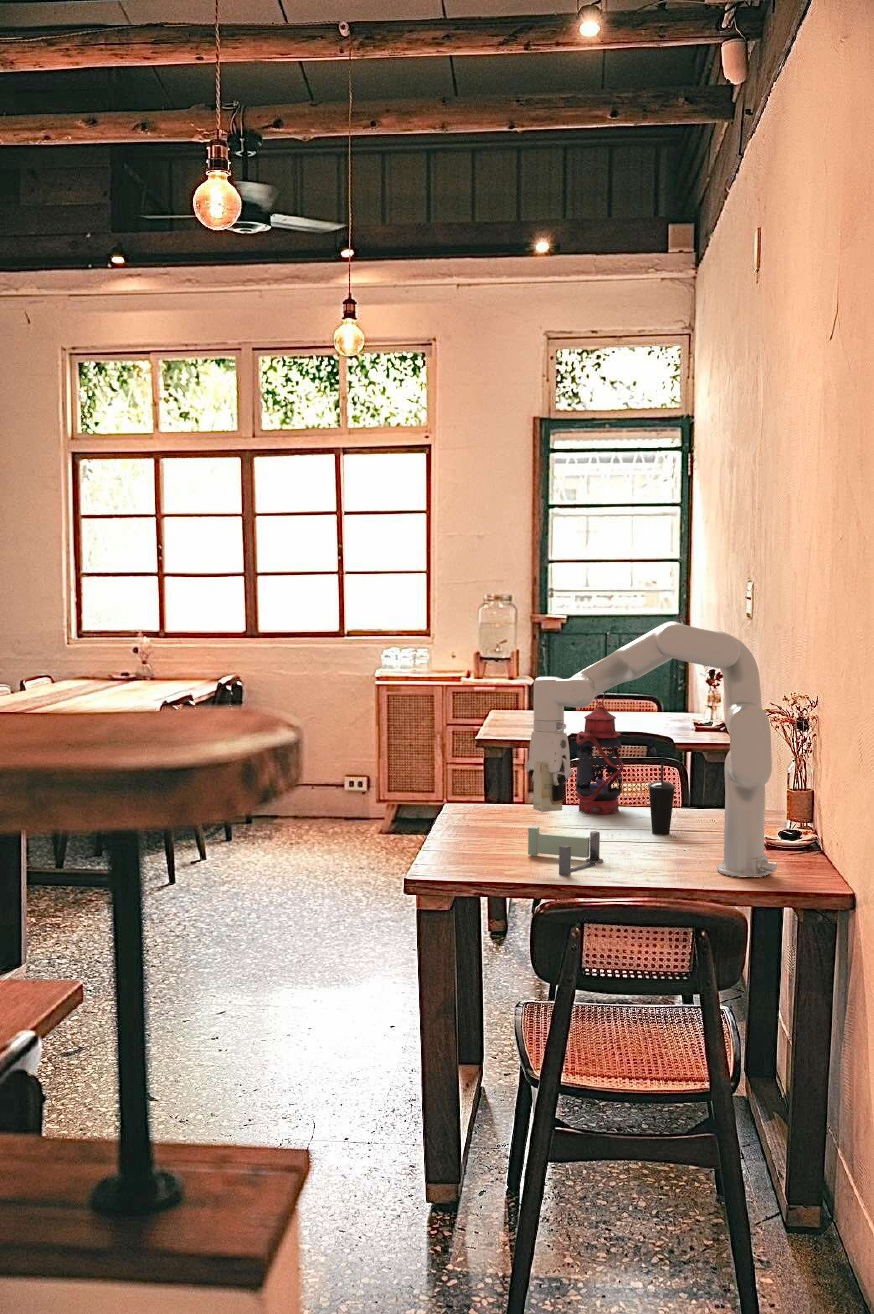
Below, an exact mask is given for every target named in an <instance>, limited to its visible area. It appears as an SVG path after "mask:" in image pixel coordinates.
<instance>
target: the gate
mask: <svg viewBox="0 0 874 1314" xmlns="http://www.w3.org/2000/svg"><path fill="white" fill-rule="evenodd" d="M527 834H528V839H527V840H528V841H527V843H528V844H527V849H528V850H527V854H528V855H529V856H537V855H553V856H559V846H563V845H567V846H571V858H572V857H574V858H575V857H576V858H583V859H584V858H585V859H588V858H590V836H586V835H584V836H583V835H581V836H580V835H573V834H572V835H571V834H561V833H560V834H559V833H558V834H557V833H550V832H549V833H547V832H540V826H536V825H535V826H534V825H531V826H529V827H528V832H527Z"/></svg>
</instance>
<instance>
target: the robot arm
mask: <svg viewBox="0 0 874 1314" xmlns="http://www.w3.org/2000/svg"><path fill="white" fill-rule="evenodd" d="M672 659H675V660H678V661H682V662H686V663H691V664H695V665H699V666H700V665H701V666H705V667H709V668H714V669H719V670H720V672H721V674H722V677H723V684H724V686H723V687H724V699H725V700H724V701H725V704H724V705H725V706H724V707H725V709H724V710H725V713H724V714H725V715H724V716H725V717H724V722H725V727H726V728H725V729H727V731H728V733H729V734H728V735H729V750H728V753H727V755H726V757H725V760H724V790H725V793H724V794H725V795H724V830H723V831H724V834H723V835H724V836H723V839H724V841H723V843H724V844H723V862H722V863H719V864H717V866H716V871H717V872H718V871H719V872H720V873H719V872H718V873H719V874H721V873H723V874H722V875H724V874H727V875H726V876H728V875H731V876H730V877H733V876H747V877H754V876H765V877H767V876H766V875H768V874H769V875H770V874H771V873H775V872H776V871H777V868H778V863H777V862H772V861H769V860H768V859H769V857H768V855H766V854H764V852H765V824H766V823H765V821H766V820H765V816H766V784H768V781H769V780H770V778H771V776H772V770H773V765H772V764H773V760H772V759H773V757H772V755H773V754H772V736H771V735H772V733H771V723H770V719H769V717H768V713H766V711H765V710H764V709H763V705H762V693H761V692H762V691H761V680H760V679H761V678H760V672H759V668H758V664H757V661H756V658H755V657H754V655H753V653H752V652H751V650H750V649H749V648H748V647H747V646H746V645H745V644H744V643H743V641H741V640H739V639H738V638H737V637H735V636H733V635H732V634H730V633H728V632H725V631H722V630H721V631H720V630H715V631H712V630H709V629H705V628H699V627H696V626H695V627H694V626H691V625H686V624H683V623H680V622H679V621H674V620H673V621H672V620H671V621H667V622H664V623H662V624H660V625H659V626H657V627H655V628H653V629H652V630H650V631H648V632H647V633H645V634H643V635H641V636H640V637H638V638H636V639H634V640H632V641H631V642H629V643H627V644H625V645H624V646H622V647H620V648H618V649H616V650H615V651H614V652H611V654H609V655H607V656H606V657H604V658H602V659H600V660H599V661H597V662H594V663H593V664H591V665H589V666H587V667H586V668H584V669H582V670H581V671H579V672H578V673H575V674H574V675H572V676H570V678H564V679H563V678H561V677H559V676H558V677H557V676H538V677H536V678H535V679H534V682H533V730H532V731H531V736H530V742H529V749H528V750H529V751H528V752H529V753H528V760H527V761H526V763H525V764H524V768H525V770H527V772H528V774H529V776H530V777H531V782H533V783H534V764H535V762H542V763H546V764H547V768H548V772H549V773H552V775H553V780H554V784H555V785H553V787H552V800H553V801H560V800H562V801H563V799H564V794H563V793H564V785H565V784H566V782H567V780H569V778H570V777H571V776H572V775H573V774H574V771H573V769H572V767H571V758H570V755H571V753H570V745H569V739H568V734H567V732H565V730H566V729H567V724H566V723H565V707H568V708H569V707H571V708H575V709H582V708H586V707H589V706H590V705H592V703H593V701H595V699H596V698H595V697H596V696H597V697H598V696H600V695H601V694H604V692H605V691H608V690H611V689H612V688H614V687H616V686H618V685H620V684H623V683H627V682H631V681H634V680H637V679H639V678H641V677H642V676H645V675H646V674H648V673H649V672H651V671H653V670H655V669H656V668H659V667H661V665H663V664H666V663H667V662H670V660H671V661H672ZM562 768H563V770H562ZM558 775H559V779H558ZM769 875H768V876H769Z"/></svg>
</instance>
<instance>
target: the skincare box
mask: <svg viewBox="0 0 874 1314" xmlns="http://www.w3.org/2000/svg"><path fill="white" fill-rule="evenodd" d="M562 770H563V768H562ZM558 779H559V775H558ZM553 785H555V784H554V780H553V775H552V773H549V772H548V768H547V764H546V763H542V762H535V764H534V782H533V798H532V801H533V803H532V805H533V806H532V809H533V810H535V811H538V812H541V813H546V812H557V811H559V812H560V811H563V799H562V800H560V801H553V800H552V787H553Z"/></svg>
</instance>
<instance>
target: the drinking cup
mask: <svg viewBox="0 0 874 1314" xmlns="http://www.w3.org/2000/svg"><path fill="white" fill-rule="evenodd" d="M664 765H665V764H664V762H661V763H660V780H657V781H654V782H652V783H649V784H648V785H647V788H648V791H649V792H648V793H649V794H648V795H649V807H650V820H651V821H650V822H651V834H653V835H655V836H669V835H670V833H671V822H672V814H673V806H674V799H675V797H674V795H675V789H676V787H677V786H676V784H673V783H671V782H668V781H665V780H664Z"/></svg>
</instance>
